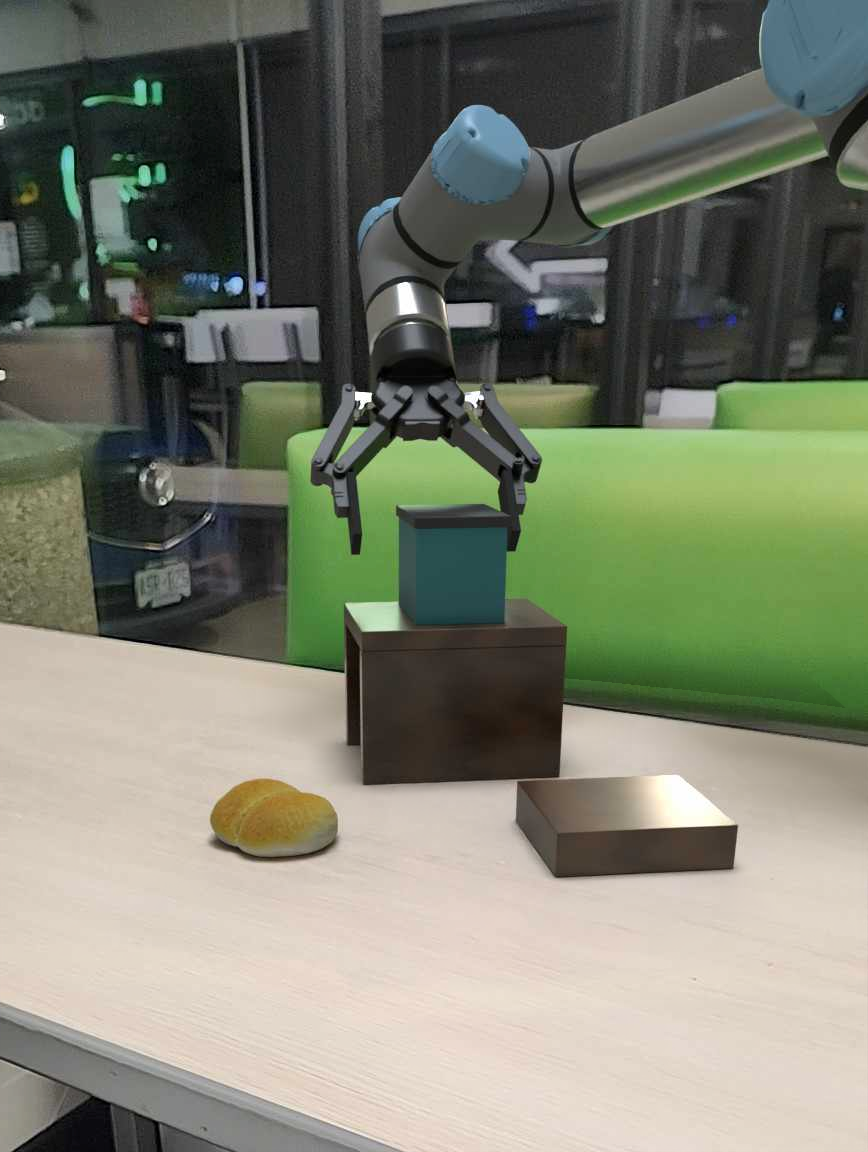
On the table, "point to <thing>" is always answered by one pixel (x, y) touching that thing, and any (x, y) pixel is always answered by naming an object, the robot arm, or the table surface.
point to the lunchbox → (452, 563)
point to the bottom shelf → (624, 825)
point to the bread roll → (273, 819)
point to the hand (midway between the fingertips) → (435, 543)
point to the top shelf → (454, 694)
